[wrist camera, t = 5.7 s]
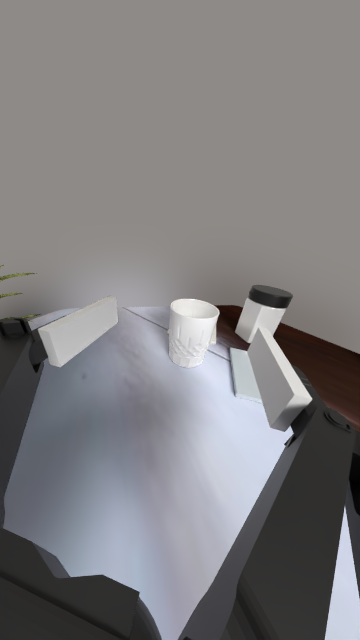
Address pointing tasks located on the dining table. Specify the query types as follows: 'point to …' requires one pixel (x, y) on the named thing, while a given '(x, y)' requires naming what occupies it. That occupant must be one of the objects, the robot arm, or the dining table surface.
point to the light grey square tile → (244, 376)
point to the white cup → (190, 331)
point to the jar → (262, 311)
